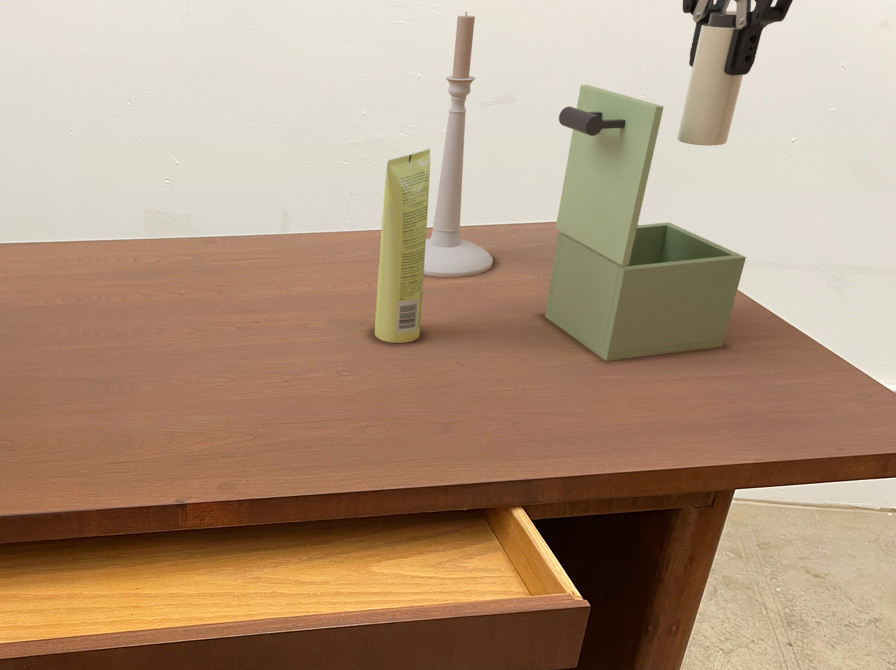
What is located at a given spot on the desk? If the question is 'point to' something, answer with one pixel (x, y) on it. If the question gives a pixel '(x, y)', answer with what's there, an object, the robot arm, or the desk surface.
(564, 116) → the lid
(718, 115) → the spice bottle
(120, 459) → the desk surface
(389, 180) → the tube
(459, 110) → the candlestick
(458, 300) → the desk surface
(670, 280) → the chest
